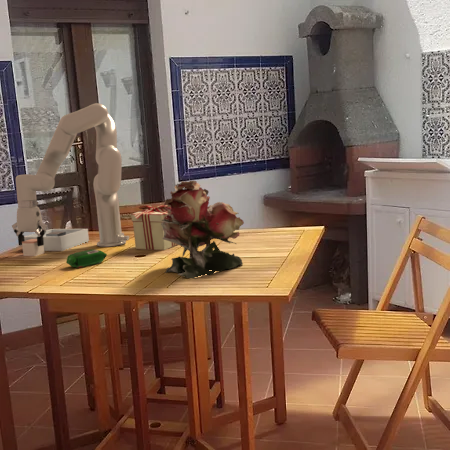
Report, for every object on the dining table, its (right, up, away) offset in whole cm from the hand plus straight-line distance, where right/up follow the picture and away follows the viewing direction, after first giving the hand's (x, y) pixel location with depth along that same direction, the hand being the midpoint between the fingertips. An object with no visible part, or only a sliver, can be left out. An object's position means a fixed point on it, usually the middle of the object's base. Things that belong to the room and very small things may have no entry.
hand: (31, 245), depth 266 cm
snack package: (+30, -7, -28) cm, 41 cm away
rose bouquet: (+72, -6, -46) cm, 85 cm away
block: (+6, 0, +17) cm, 18 cm away
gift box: (+54, -1, -3) cm, 54 cm away
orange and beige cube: (+1, -4, +1) cm, 4 cm away
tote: (+6, -1, +17) cm, 18 cm away
